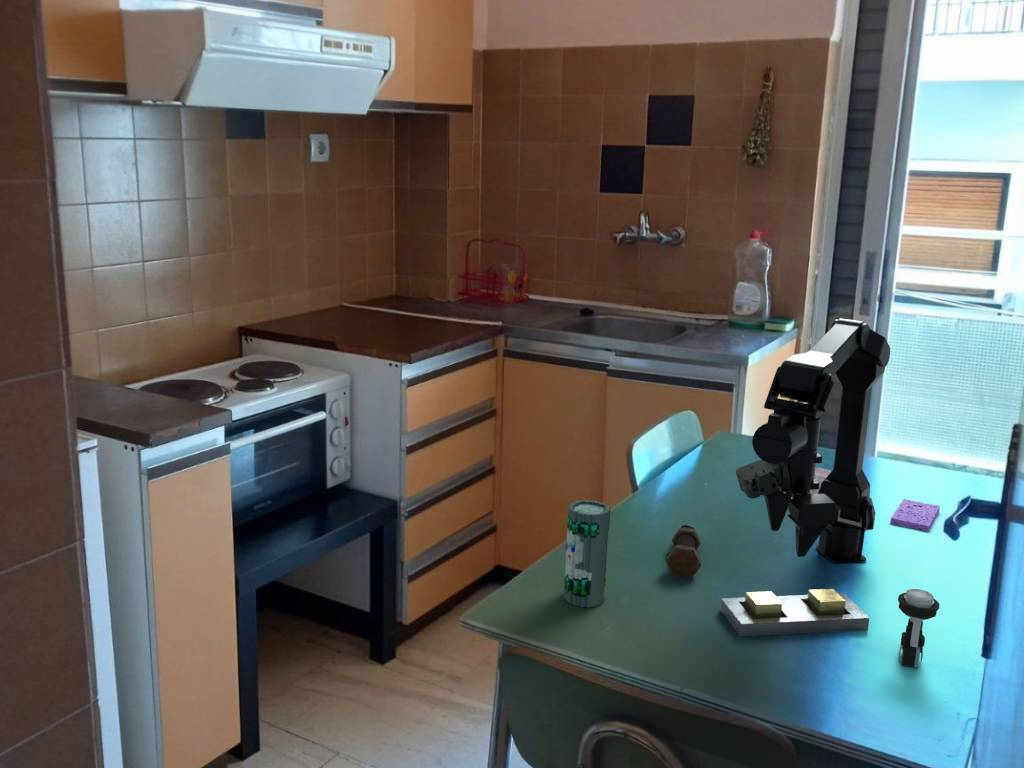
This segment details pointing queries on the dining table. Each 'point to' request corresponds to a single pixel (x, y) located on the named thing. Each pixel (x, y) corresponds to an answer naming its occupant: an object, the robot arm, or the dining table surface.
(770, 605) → the beige wood block
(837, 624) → the rectangular frame
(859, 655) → the dining table surface
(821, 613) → the tan wooden cube
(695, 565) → the bolt
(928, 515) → the sponges
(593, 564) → the can
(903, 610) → the push button
